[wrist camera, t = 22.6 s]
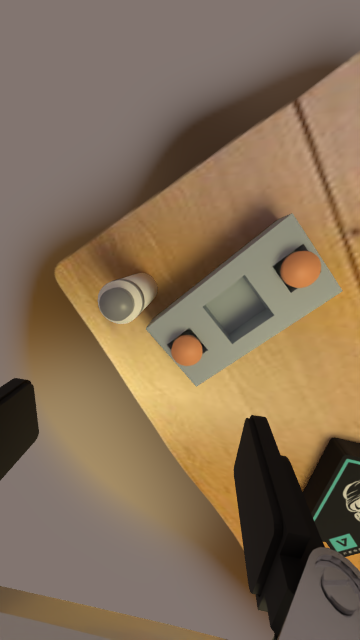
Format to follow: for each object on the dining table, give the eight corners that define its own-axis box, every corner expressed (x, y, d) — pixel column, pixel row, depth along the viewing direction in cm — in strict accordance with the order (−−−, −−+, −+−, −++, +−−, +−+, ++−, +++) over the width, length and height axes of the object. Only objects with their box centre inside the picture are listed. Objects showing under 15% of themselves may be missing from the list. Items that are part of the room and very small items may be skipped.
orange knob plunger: (190, 320, 35) (189, 331, 30) (207, 341, 36) (208, 354, 31) (169, 336, 36) (164, 349, 31) (186, 356, 37) (184, 371, 32)
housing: (278, 219, 31) (292, 213, 27) (322, 285, 33) (342, 291, 29) (152, 319, 37) (145, 328, 32) (196, 370, 39) (196, 386, 34)
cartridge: (127, 270, 35) (92, 279, 24) (159, 274, 35) (139, 284, 23) (126, 302, 37) (92, 324, 25) (156, 305, 36) (137, 330, 25)
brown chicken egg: (291, 244, 31) (309, 242, 26) (308, 269, 32) (328, 272, 27) (264, 265, 32) (276, 267, 27) (281, 288, 33) (295, 295, 28)
